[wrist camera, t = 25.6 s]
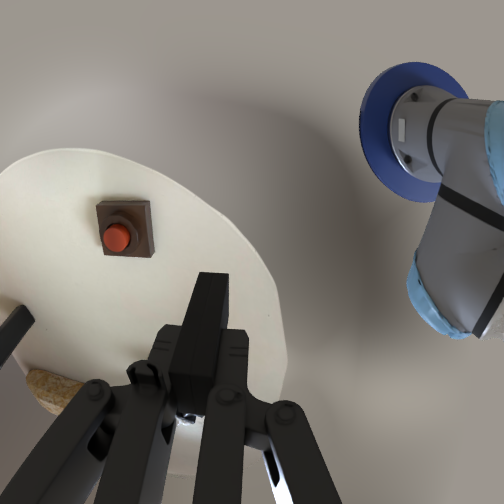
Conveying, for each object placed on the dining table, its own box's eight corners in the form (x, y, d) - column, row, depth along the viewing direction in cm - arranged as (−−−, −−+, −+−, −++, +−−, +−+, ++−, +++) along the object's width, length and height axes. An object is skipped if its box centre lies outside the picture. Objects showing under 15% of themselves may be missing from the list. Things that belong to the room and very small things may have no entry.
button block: (149, 200, 43) (140, 209, 40) (154, 252, 48) (147, 263, 44) (101, 201, 43) (90, 209, 40) (109, 249, 48) (99, 260, 44)
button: (128, 223, 41) (124, 228, 40) (131, 247, 43) (127, 252, 42) (106, 223, 41) (101, 227, 40) (110, 246, 43) (105, 251, 42)
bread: (114, 391, 68) (103, 419, 60) (123, 411, 73) (115, 436, 65) (25, 363, 68) (12, 384, 59) (38, 383, 73) (27, 403, 64)
